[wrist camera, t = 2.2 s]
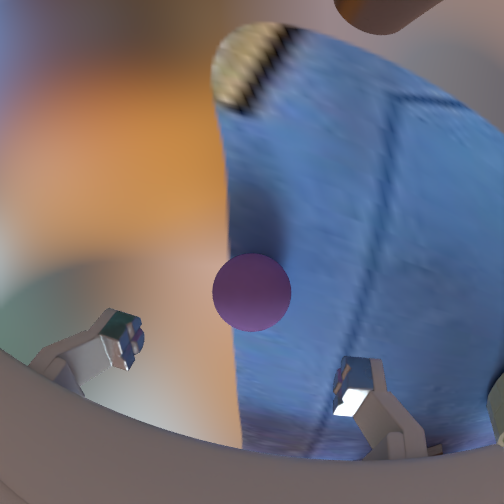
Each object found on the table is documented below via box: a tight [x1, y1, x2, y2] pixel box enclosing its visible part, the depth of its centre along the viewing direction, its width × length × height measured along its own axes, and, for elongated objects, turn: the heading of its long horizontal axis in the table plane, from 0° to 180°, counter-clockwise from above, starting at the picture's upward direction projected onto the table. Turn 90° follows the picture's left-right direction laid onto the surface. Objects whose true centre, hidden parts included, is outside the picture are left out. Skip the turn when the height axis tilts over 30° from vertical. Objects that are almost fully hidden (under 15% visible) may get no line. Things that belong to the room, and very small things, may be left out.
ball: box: [212, 253, 291, 332], centre depth 14 cm, size 4×4×4 cm
